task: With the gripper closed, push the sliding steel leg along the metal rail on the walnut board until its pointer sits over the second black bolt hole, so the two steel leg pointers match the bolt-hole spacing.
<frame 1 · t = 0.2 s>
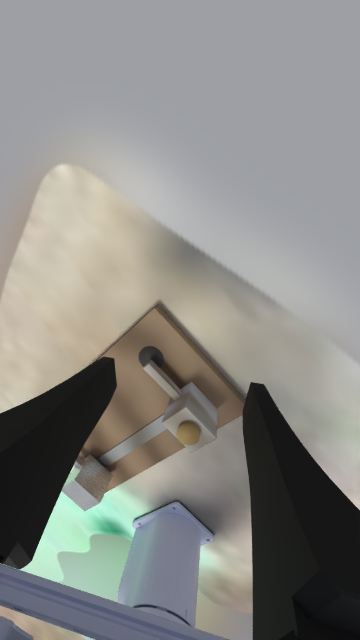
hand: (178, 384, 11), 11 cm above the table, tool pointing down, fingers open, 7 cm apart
gauge board: (129, 410, 26), on the table
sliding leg: (74, 469, 26), point 3 cm above the table, slide at 0.0 cm
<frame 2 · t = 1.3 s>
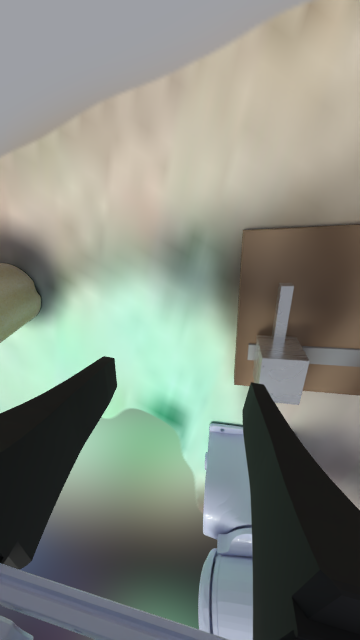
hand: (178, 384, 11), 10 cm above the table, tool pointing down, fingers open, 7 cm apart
flower pot: (16, 291, 23), on the table
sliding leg: (280, 344, 16), point 3 cm above the table, slide at 0.0 cm
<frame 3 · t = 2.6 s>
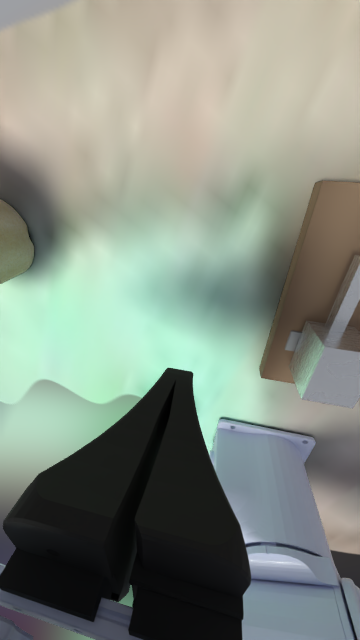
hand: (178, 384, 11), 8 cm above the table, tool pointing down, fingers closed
flower pot: (3, 236, 18), on the table
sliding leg: (342, 332, 13), point 3 cm above the table, slide at 0.0 cm
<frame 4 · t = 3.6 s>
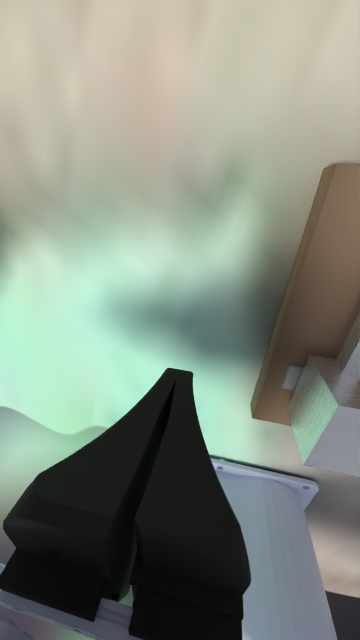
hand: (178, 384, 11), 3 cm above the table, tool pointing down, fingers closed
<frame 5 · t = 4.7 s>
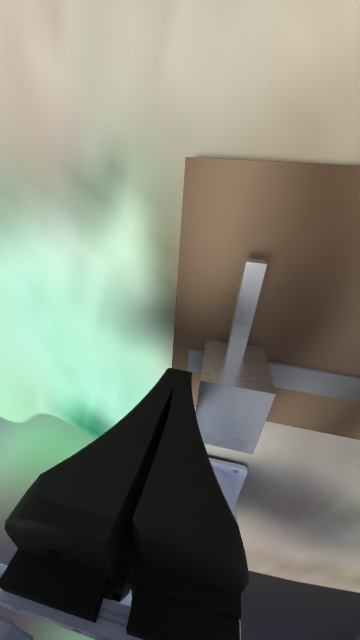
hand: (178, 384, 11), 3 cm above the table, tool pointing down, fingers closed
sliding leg: (236, 358, 10), point 3 cm above the table, slide at 0.4 cm, touching gripper
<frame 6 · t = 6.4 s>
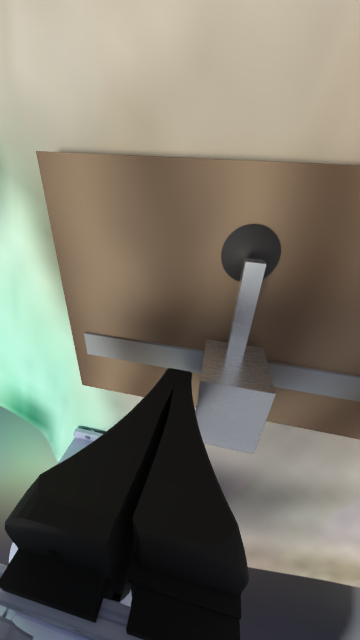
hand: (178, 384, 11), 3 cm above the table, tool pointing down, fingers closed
gauge board: (270, 317, 12), on the table
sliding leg: (236, 358, 10), point 3 cm above the table, slide at 7.1 cm, touching gripper
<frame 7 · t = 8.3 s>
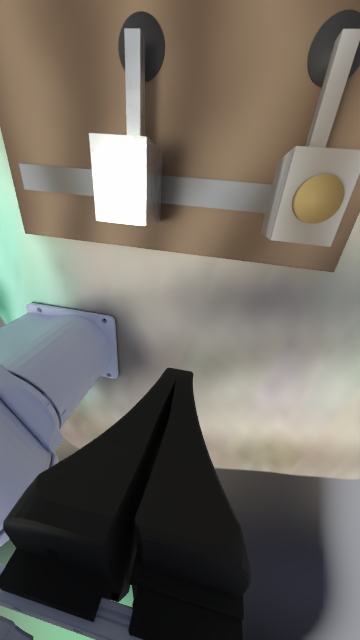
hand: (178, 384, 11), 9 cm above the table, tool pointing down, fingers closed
gauge board: (176, 138, 14), on the table
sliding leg: (129, 137, 12), point 3 cm above the table, slide at 7.1 cm
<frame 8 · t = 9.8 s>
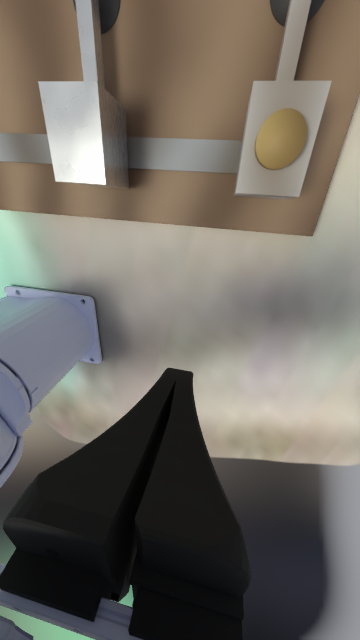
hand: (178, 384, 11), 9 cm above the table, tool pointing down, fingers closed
gauge board: (142, 98, 14), on the table
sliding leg: (85, 90, 11), point 3 cm above the table, slide at 7.1 cm
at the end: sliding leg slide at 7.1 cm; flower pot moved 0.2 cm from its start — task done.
